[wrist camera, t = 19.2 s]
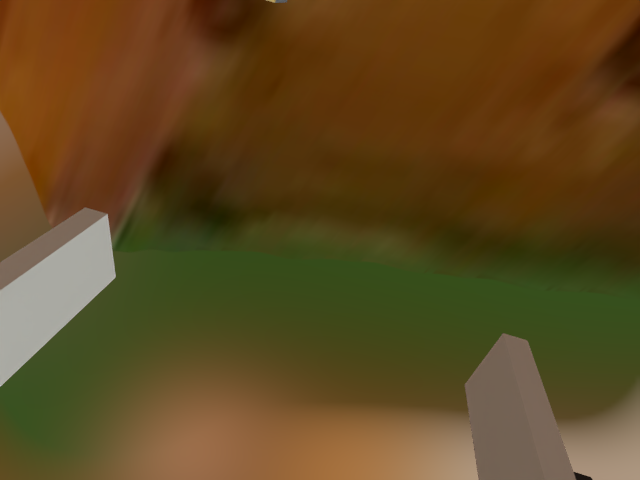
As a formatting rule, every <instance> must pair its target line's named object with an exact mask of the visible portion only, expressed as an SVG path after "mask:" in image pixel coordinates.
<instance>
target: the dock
mask: <svg viewBox="0 0 640 480" xmlns="http://www.w3.org/2000/svg"><path fill="white" fill-rule="evenodd" d="M267 1H271V2H274V3H279V2H287V0H267Z"/></svg>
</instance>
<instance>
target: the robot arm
mask: <svg viewBox="0 0 640 480" xmlns="http://www.w3.org/2000/svg"><path fill="white" fill-rule="evenodd" d="M115 277H116V275H115V269H114V260H113V252H112V245H111V237H110V229H109V222H108V214H106V213H102V212H99V211H96V210H92V209H89V208H86V207H85V208H84V209H82V210H81V211H79V212H78V213H76V214H75V215H73V216H71V217H70V218H68V219H67V220H65V221H64V222H62V223H61V224H59V225H58V226H56V227H54V228H53V229H51V230H50V231H48V232H47V233H45V234H44V235H42V236H40V237H39V238H37V239H36V240H34V241H33V242H31V243H30V244H28V245H27V246H25V247H23V248H22V249H20V250H19V251H17V252H16V253H14V254H12V255H11V256H9V257H8V258H6V259H5V260H3V261H2V262H0V386H1V385H2V384H4V383H5V381H7V380H8V379H9V378H10V377H11V376H12V375H13V374H14V373H15V372H16V371H17V370H18V369H19V368H20V367H21V366H22V365H24V364H25V363H26V362H27V361H28V360H29V359H30V358H31V357H32V356H33V355H34V354H35V353H36V352H37V351H38V350H39V349H40V348H41V347H42V346H44V345H45V344H46V343H47V342H48V341H49V340H50V339H51V338H52V337H53V336H54V335H55V334H56V333H57V332H58V331H59V330H60V329H62V328H63V327H64V326H65V325H66V324H67V323H68V322H69V321H70V320H71V319H72V318H73V317H74V316H75V315H76V314H77V313H78V312H79V311H80V310H81V309H83V308H84V307H85V306H86V305H87V304H88V303H89V302H90V301H91V300H92V299H93V298H94V297H95V296H96V295H97V294H98V293H99V292H101V291H102V290H103V289H104V288H105V287H106V286H107V285H108V284H109V283H110V282H111V281H112V280H113V279H114V278H115ZM465 390H466V396H467V403H468V410H469V417H470V424H471V431H472V437H473V444H474V450H475V458H476V464H477V471H478V477H479V480H592V478H591V477H588V476H585V475H582V474H579V473H575V472H573V469H572V467H571V464H570V461H569V458H568V455H567V452H566V449H565V447H564V444H563V441H562V438H561V435H560V433H559V430H558V427H557V424H556V421H555V418H554V415H553V412H552V410H551V407H550V404H549V401H548V398H547V395H546V392H545V390H544V387H543V384H542V381H541V378H540V375H539V372H538V370H537V367H536V364H535V361H534V359H533V355H532V352H531V350H530V347H529V344H528V341H527V340H524V339H520V338H517V337H514V336H510V335H507V334H504V333H503V334H502V335H501V337H500V338H499V339H498V341H497V342H496V343H495V345H494V346H493V347H492V349H491V350H490V352H489V353H488V354H487V356H486V357H485V358H484V360H483V361H482V362H481V364H480V365H479V366H478V368H477V369H476V370H475V372H474V373H473V374H472V376H471V377H470V378H469V380H468V381H467V383H466V384H465Z"/></svg>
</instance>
